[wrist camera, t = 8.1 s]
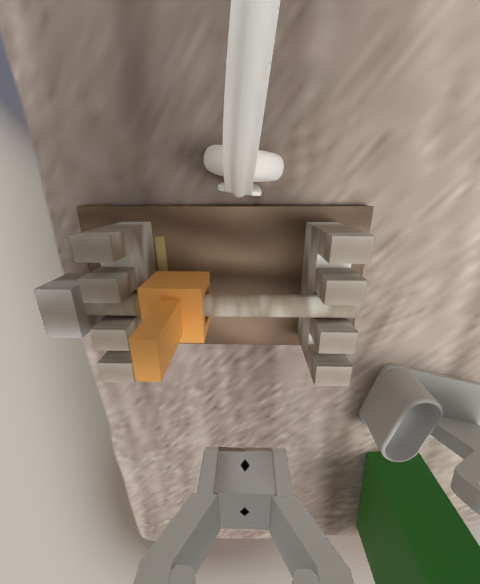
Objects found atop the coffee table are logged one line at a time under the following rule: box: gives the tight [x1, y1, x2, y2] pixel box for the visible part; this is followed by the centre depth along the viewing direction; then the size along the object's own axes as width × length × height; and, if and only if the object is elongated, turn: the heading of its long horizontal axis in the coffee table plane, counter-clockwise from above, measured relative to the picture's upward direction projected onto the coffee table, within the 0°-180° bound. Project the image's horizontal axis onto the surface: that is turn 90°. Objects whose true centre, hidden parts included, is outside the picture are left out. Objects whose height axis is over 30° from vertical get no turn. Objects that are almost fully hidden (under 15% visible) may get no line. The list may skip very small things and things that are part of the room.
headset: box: [204, 0, 284, 198], centre depth 16 cm, size 20×7×18 cm, turn 172°
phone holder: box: [359, 363, 480, 515], centre depth 29 cm, size 17×10×18 cm, turn 76°
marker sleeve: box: [129, 271, 211, 382], centre depth 21 cm, size 5×5×11 cm
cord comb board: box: [34, 206, 375, 386], centre depth 26 cm, size 16×30×10 cm, turn 90°
